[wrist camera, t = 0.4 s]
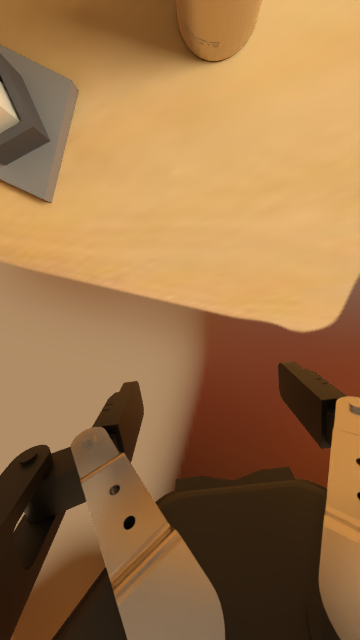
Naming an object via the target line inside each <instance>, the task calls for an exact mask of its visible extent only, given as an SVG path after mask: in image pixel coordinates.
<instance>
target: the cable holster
mask: <svg viewBox="0 0 360 640" xmlns="http://www.w3.org/2000/svg"><path fill="white" fill-rule="evenodd" d="M0 81H1V82H2V83H3V84H4V85H5V86H6V88H7V90H8V93H9V95H10V97H11V99H12V101H13V103H14V105H15V108H16V110H17V112H18V114H19V116H20V118H21V120H22V121H21V122H19V123H17V124H15V125H14V126H12V127H10V128H8V129H7V130H5V131H3V132H2V133H0V163H1V164H3V165H5V166H6V165H8V164H9V163H11V162H13V161H15V160H17V159H19V158H20V157H22V156H24V155H26V154H28V153H30V152H31V151H33V150H35V149H37V148H39V147H41V146H42V145H44V144H46V143H48V142H50V139H49V137H48V134H47V132H46V130H45V128H44V125H43V123H42V121H41V119H40V116H39V114H38V112H37V110H36V107H35V105H34V103H33V101H32V98H31V96H30V94H29V92H28V90H27V87H26V85H25V83H24V81H23V78H22V76H21V75H20V74H19V73H18V72H17V71H16V70H15V68H14V67H13V66H12V65H11V64H10V63H9V62H8V61H7V60H6V59H5V58H4V57H3V55H2V54H1V53H0Z"/></svg>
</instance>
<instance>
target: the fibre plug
mask: <svg viewBox="0 0 360 640" xmlns="http://www.w3.org/2000/svg"><path fill="white" fill-rule="evenodd" d="M21 121H22V120H21V118H20V116H19V114H18V112H17V110H16V108H15V105H14V103H13V101H12V99H11V97H10V95H9V93H8V90H7V88H6V86H5V85H4V84H3V83H2V82H1V81H0V133H2V132H3V131H5V130H7V129H8V128H10V127H12V126H14V125H15V124H17V123H19V122H21Z"/></svg>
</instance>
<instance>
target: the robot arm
mask: <svg viewBox="0 0 360 640" xmlns="http://www.w3.org/2000/svg"><path fill="white" fill-rule="evenodd" d="M261 2H262V0H176V7H177V19H178V25H179V29H180V32H181V35H182V38H183V40H184V42H185V43H186V45H187V47H188V48H189V49H190V50H191V51H192V52H193V53H194V54H195V55H197V56H198V57H200V58H202V59H205V60H209V61H219V60H224V59H226V58H228V57H230V56H232V55H234V54H235V53H236V52H237V51H239V50H240V49H241V48H242V47H243V45H244V44H245V43H246V42H247V40H248V39H249V37H250V35H251V34H252V32H253V29H254V26H255V24H256V21H257V17H258V13H259V9H260V5H261ZM278 375H279V391H280V395H281V397H282V399H283V401H284V402H285V403H286V404H287V406H288V407H289V408H290V409H291V411H292V412H293V413H294V414H295V415H296V417H297V418H298V420H299V421H300V422H301V423H302V425H303V426H304V427H305V429H306V430H307V431H308V432H309V434H310V435H311V436H312V437H313V439H314V440H315V441H316V443H317V444H318V445H319V446H320V448H331V457H330V468H329V478H328V489H326V488H324V487H322V486H320V485H318V484H316V483H313V482H310V481H308V480H304V479H300V478H295V477H294V476H293V474H292V472H291V470H290V468H289V467H283V468H274V469H265V470H259V471H257V472H254V473H251V474H249V475H246V476H244V477H241V478H239V479H236V480H226V479H219V478H212V477H205V476H200V477H191V478H182V479H176V488H175V490H174V491H172V492H170V493H168V494H166V495H164V496H163V497H161V498H160V499H159V500H157V501H156V502H155V501H154V500H153V498H152V497H151V495H150V493H149V492H148V490H147V489H146V487H145V485H144V484H143V482H142V481H141V479H140V477H139V476H138V474H137V473H136V471H135V469H134V468H133V466H132V465H131V461H132V457H133V453H134V449H135V446H136V442H137V438H138V434H139V431H140V427H141V423H142V419H143V415H144V407H143V401H142V397H141V392H140V387H139V383H138V382H137V381H134V382H126V383H124V384H123V386H122V387H121V389H120V391H119V392H117V393H114V394H113V395H112V396H111V397H110V398H109V399H108V400H107V402H106V404H105V406H104V408H103V409H102V411H101V413H100V415H99V416H98V418H97V420H96V421H95V423H94V425H93V427H92V428H89V429H87V430H85V431H83V432H82V433H80V434H79V435H78V436H77V437H76V438H75V439H74V440H73V442H72V444H71V447H68V448H66V449H63V450H60V451H57V452H55V453H52V454H51V452H50V449H49V447H48V446H46V445H38V446H35V447H32V448H30V449H28V450H26V451H24V452H23V453H21V454H20V455H19V456H17V457H16V458H15V459H14V460H13V461H12V462H11V463H10V464H9V466H8V467H7V468H6V469H5V470H4V472H3V473H2V474H1V475H0V640H10V639H11V637H12V634H13V632H14V630H15V627H16V625H17V623H18V620H19V618H20V616H21V614H22V611H23V609H24V607H25V604H26V602H27V600H28V597H29V595H30V593H31V590H32V588H33V586H34V583H35V581H36V579H37V577H38V574H39V572H40V570H41V567H42V565H43V563H44V560H45V558H46V556H47V554H48V551H49V549H50V546H51V544H52V542H53V540H54V537H55V535H56V533H57V530H58V528H59V526H60V524H61V521H62V519H63V517H64V514H65V512H66V510H68V509H70V508H72V507H75V506H77V505H79V504H82V503H84V502H86V501H87V504H88V508H89V511H90V514H91V518H92V521H93V525H94V528H95V531H96V535H97V538H98V542H99V545H100V548H101V551H102V555H103V558H104V561H105V565H106V567H105V568H104V570H103V571H102V572H101V574H100V575H99V576H98V578H97V579H96V580H95V582H94V583H93V584H92V586H91V587H90V588H89V590H88V591H87V593H86V594H85V595H84V597H83V598H82V599H81V601H80V602H79V603H78V605H77V606H76V607H75V609H74V610H73V612H72V613H71V614H70V616H69V617H68V618H67V620H66V621H65V622H64V624H63V625H62V626H61V628H60V629H59V630H58V632H57V633H56V635H55V636H54V637H53V639H52V640H360V398H357V397H347V396H346V395H345V394H343V393H342V392H341V391H339V390H338V389H337V388H335V387H334V386H333V385H332V384H329V382H328V381H326V380H325V379H323V378H322V377H321V376H320V375H318V374H317V373H315V372H313V371H310V370H308V369H303V368H302V367H301V366H299V365H298V364H297V363H295V362H294V361H292V362H284V363H279V365H278ZM23 512H24V513H25V515H24V516H23V518H22V520H21V521H20V523H19V524H18V526H17V528H16V529H15V526H16V524H17V522H18V520H19V519H20V517H21V515H22V514H23ZM14 529H15V531H14ZM13 532H14V533H13Z"/></svg>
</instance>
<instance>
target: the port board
mask: <svg viewBox="0 0 360 640" xmlns="http://www.w3.org/2000/svg"><path fill="white" fill-rule="evenodd" d="M0 53H1V54H2V55H3V57H4V58H5V59H6V60H7V61H8V62H9V63H10V64H11V65H12V66H13V67H14V68H15V70H16V71H17V72H18V73H19V74H20V75H21V76H22V78H23V81H24V83H25V85H26V87H27V90H28V92H29V94H30V96H31V98H32V101H33V103H34V105H35V107H36V110H37V112H38V114H39V116H40V119H41V121H42V123H43V125H44V128H45V130H46V132H47V134H48V137H49V139H50V142H48V143H46V144H44V145H42V146H41V147H39V148H37V149H35V150H33V151H31V152H30V153H28V154H26V155H24V156H22V157H20V158H19V159H17V160H15V161H13V162H11V163H9V164H8V165H6V166H5V165H3V164H1V163H0V179H1V180H3V181H5V182H7V183H9V184H11V185H14V186H16V187H18V188H20V189H22V190H24V191H26V192H29V193H31V194H33V195H35V196H37V197H39V198H41V199H43V200H46V201H48V202H51V203H52V198H53V194H54V190H55V186H56V182H57V178H58V174H59V169H60V165H61V161H62V157H63V153H64V149H65V145H66V141H67V136H68V132H69V128H70V124H71V120H72V116H73V112H74V107H75V103H76V99H77V95H78V91H79V90H78V89H77V87H76V86H75V84H74V83H73V81H72V80H70V79H68V78H66V77H64V76H62V75H60V74H58V73H56V72H54V71H52V70H50V69H48V68H46V67H44V66H42V65H40V64H38V63H36V62H34V61H32V60H30V59H28V58H26V57H24V56H22V55H20V54H18V53H16V52H14V51H12V50H10V49H8V48H6V47H4V46H2V45H0Z"/></svg>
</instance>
